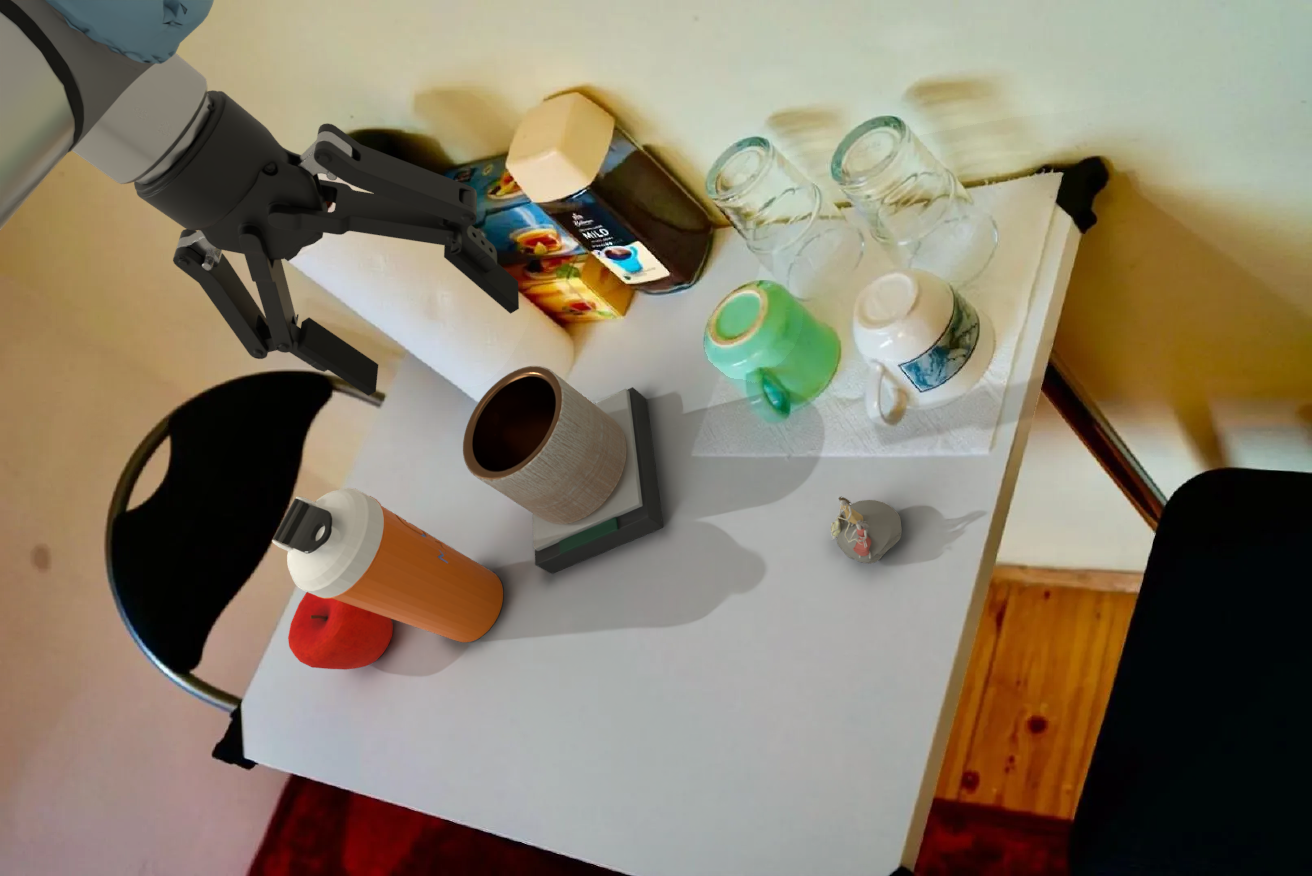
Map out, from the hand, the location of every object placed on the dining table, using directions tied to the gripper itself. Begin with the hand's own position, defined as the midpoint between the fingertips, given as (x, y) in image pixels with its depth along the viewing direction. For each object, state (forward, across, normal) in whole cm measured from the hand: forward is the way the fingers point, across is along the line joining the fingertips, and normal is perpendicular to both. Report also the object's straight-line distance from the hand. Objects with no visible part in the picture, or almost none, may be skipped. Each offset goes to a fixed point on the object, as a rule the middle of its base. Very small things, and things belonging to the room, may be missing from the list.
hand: (441, 340), depth 65 cm
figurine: (+23, -20, +15) cm, 35 cm away
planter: (+20, +2, 0) cm, 20 cm away
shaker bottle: (+23, +17, +7) cm, 30 cm away
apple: (+23, +30, +6) cm, 39 cm away
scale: (+23, +2, 0) cm, 23 cm away
